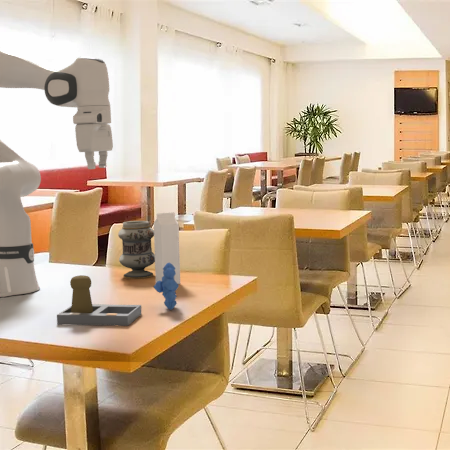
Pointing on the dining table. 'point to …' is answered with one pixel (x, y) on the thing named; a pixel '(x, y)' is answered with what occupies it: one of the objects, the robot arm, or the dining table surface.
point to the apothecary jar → (137, 248)
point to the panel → (102, 315)
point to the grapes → (168, 286)
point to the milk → (166, 244)
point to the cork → (81, 294)
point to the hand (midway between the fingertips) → (97, 168)
